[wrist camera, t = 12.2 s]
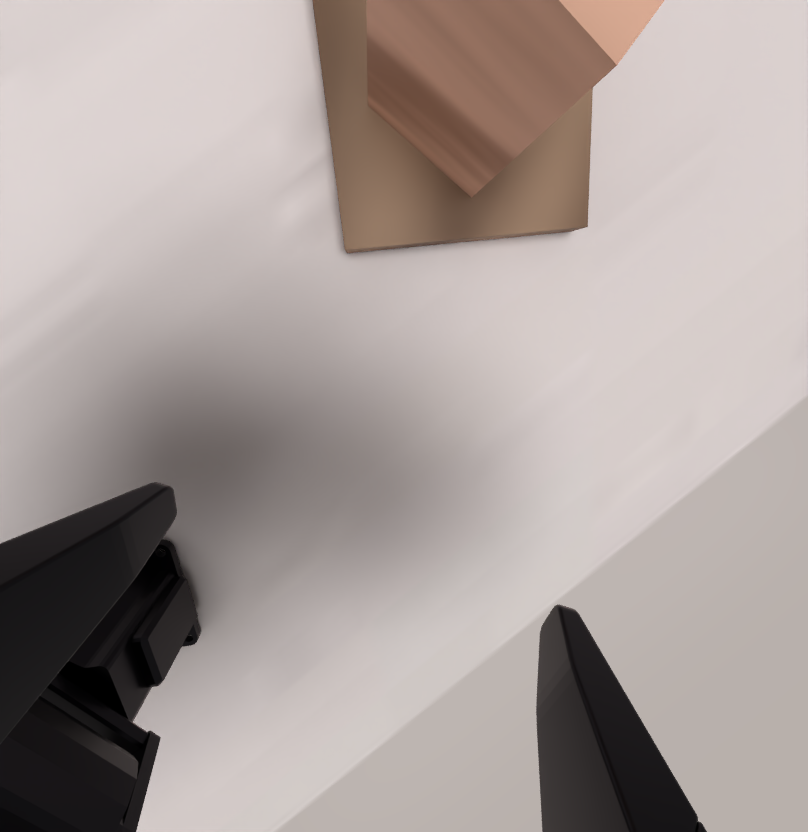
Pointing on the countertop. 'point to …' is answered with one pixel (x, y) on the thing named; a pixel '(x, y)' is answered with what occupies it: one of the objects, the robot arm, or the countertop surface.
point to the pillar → (489, 72)
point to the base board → (424, 182)
